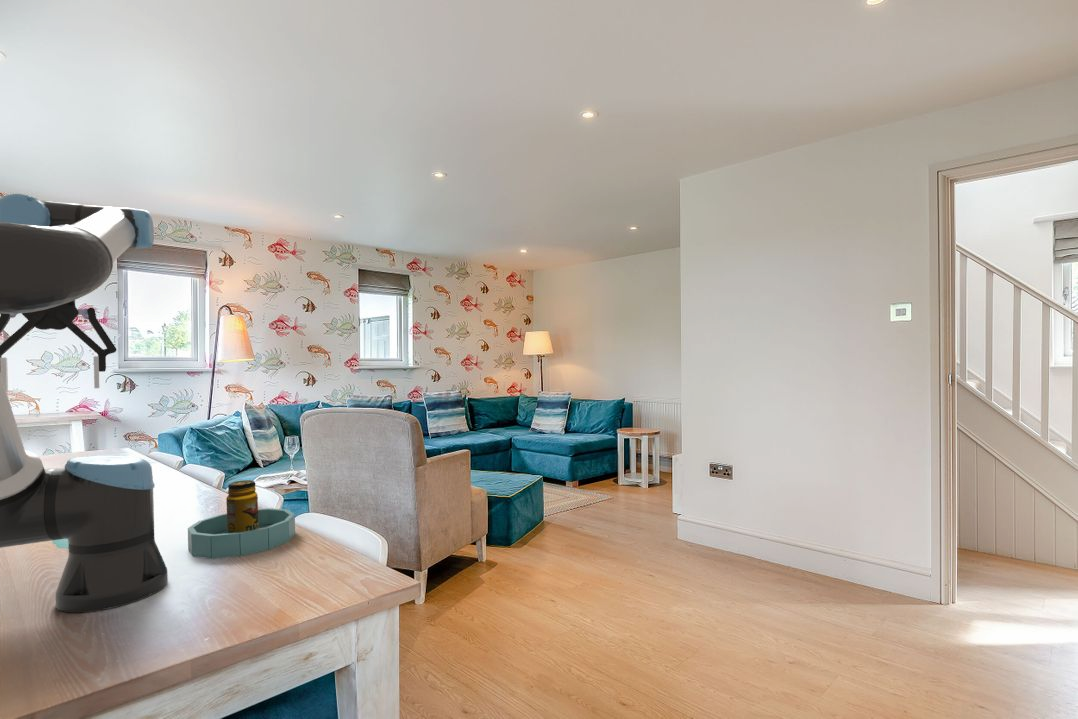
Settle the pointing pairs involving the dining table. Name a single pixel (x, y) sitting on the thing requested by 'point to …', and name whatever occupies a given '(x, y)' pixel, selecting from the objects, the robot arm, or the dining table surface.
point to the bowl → (240, 535)
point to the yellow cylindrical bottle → (242, 507)
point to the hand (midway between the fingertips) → (52, 390)
